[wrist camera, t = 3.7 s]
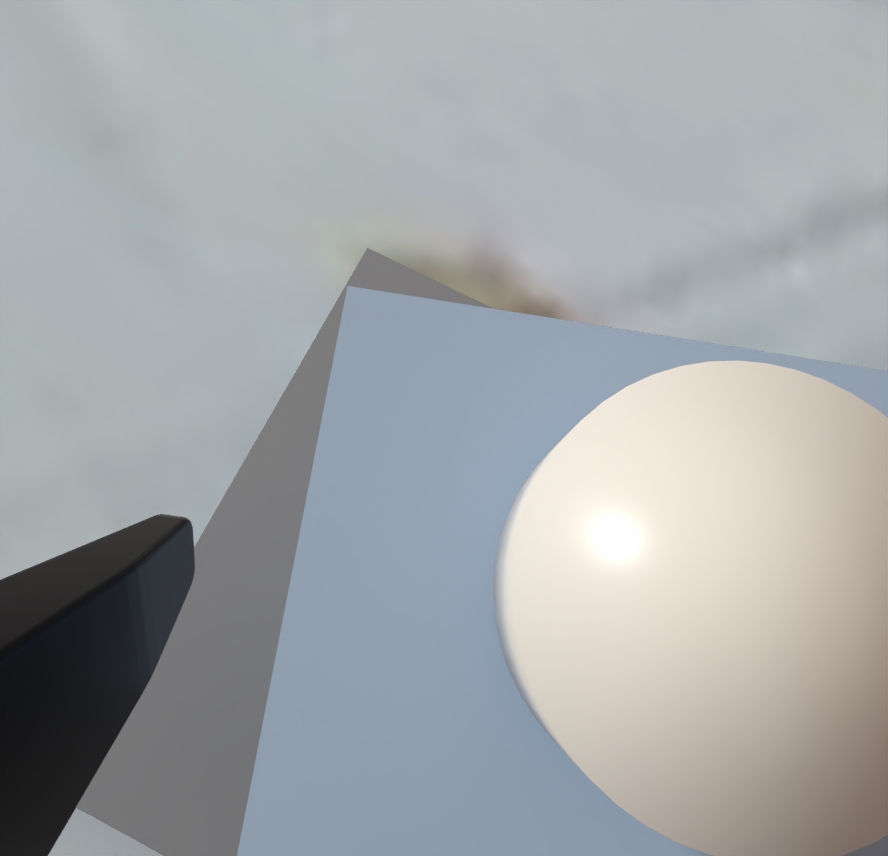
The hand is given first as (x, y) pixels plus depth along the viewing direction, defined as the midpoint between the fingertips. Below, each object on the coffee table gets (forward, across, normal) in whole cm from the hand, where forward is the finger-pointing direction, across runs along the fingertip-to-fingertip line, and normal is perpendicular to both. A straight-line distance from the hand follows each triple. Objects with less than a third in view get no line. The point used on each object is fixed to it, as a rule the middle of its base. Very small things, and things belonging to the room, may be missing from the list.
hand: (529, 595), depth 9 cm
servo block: (+4, 0, -5) cm, 7 cm away
